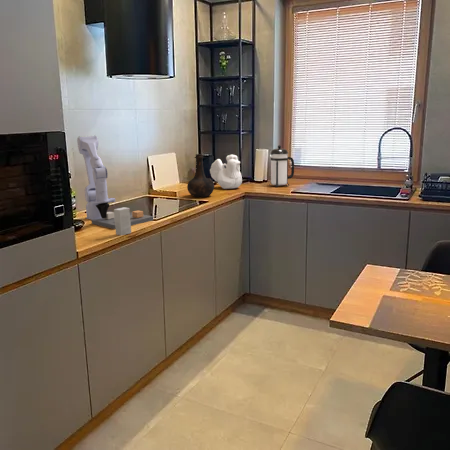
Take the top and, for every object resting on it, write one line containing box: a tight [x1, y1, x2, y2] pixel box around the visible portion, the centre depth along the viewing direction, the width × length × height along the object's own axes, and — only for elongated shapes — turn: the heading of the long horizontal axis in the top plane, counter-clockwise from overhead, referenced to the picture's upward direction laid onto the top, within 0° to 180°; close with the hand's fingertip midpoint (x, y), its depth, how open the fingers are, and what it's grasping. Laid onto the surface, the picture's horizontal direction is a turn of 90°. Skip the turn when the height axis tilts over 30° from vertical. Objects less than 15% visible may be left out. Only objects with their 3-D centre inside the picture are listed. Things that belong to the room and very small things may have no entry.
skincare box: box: [113, 206, 132, 237], centre depth 213 cm, size 6×4×12 cm
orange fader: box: [131, 210, 144, 218], centre depth 239 cm, size 4×4×3 cm
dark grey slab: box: [90, 211, 154, 230], centre depth 238 cm, size 20×24×2 cm
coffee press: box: [269, 144, 295, 188], centre depth 340 cm, size 17×16×30 cm
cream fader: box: [105, 211, 114, 219], centre depth 237 cm, size 4×4×3 cm
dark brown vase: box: [186, 153, 215, 198], centre depth 304 cm, size 18×18×28 cm
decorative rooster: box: [209, 154, 243, 190], centre depth 336 cm, size 25×16×25 cm, turn 48°
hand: (103, 217), depth 235 cm, fingers closed
